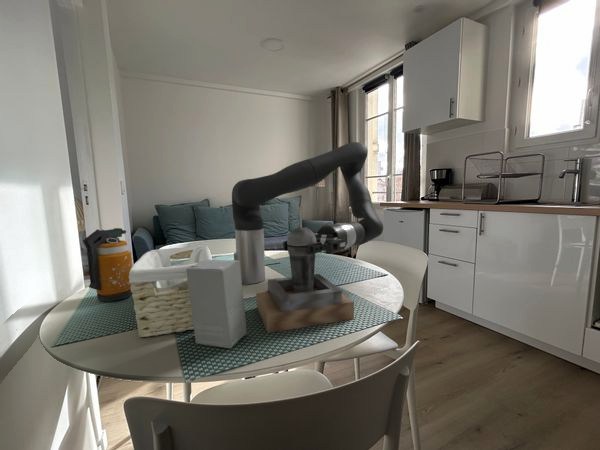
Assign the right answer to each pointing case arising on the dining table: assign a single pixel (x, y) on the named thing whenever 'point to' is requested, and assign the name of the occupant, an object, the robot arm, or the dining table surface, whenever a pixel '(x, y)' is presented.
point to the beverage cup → (301, 258)
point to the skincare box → (217, 302)
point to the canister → (109, 264)
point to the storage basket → (164, 290)
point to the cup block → (302, 305)
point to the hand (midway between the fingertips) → (296, 247)
